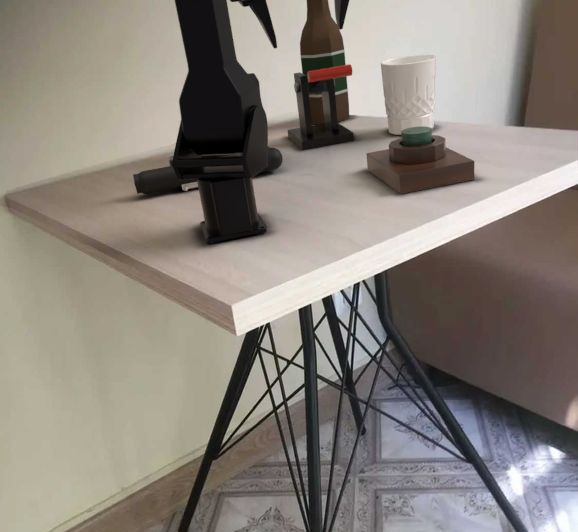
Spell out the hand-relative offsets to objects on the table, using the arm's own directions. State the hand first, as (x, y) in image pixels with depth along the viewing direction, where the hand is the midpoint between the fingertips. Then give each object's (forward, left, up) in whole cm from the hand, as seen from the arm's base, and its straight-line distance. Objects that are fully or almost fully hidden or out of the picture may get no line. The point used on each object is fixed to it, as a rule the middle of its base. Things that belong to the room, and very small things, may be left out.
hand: (307, 38), depth 93 cm
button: (-19, -7, -12) cm, 24 cm away
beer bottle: (+22, -7, -16) cm, 28 cm away
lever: (+4, -2, -7) cm, 9 cm away
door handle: (0, +17, -16) cm, 23 cm away
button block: (-19, -7, -15) cm, 26 cm away
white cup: (+4, -15, -16) cm, 22 cm away
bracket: (+9, -2, -15) cm, 18 cm away
